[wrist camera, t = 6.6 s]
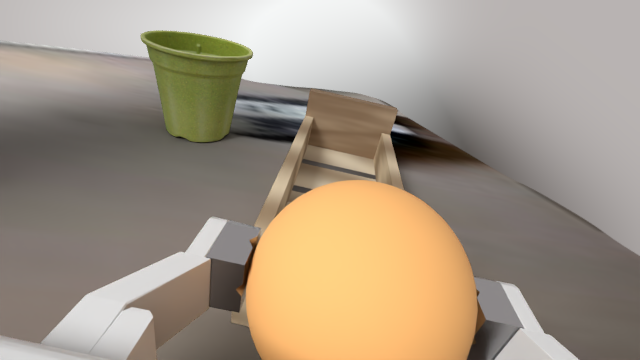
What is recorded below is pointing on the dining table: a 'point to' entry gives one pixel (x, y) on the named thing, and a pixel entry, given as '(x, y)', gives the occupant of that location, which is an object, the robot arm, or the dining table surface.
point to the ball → (360, 279)
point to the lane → (332, 154)
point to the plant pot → (196, 81)
